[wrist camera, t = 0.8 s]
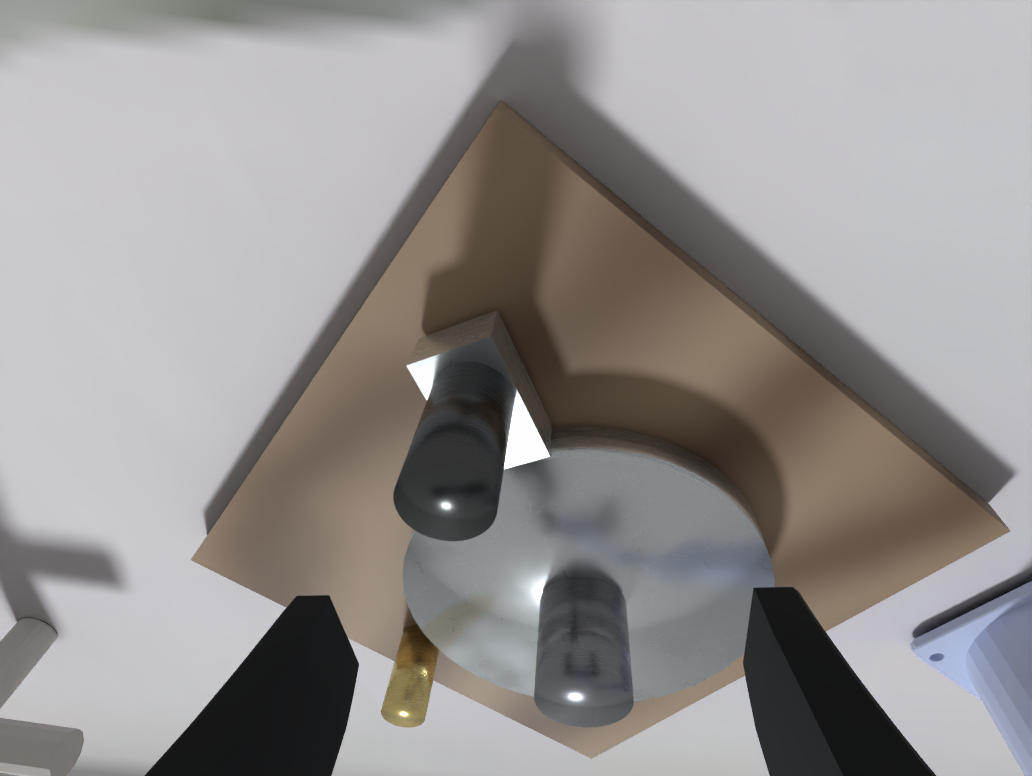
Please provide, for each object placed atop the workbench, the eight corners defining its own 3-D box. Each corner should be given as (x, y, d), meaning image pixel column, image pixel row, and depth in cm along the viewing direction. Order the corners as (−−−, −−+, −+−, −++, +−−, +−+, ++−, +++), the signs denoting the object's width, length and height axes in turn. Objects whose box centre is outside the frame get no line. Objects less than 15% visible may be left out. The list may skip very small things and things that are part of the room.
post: (644, 604, 20) (655, 700, 17) (587, 643, 21) (588, 738, 18) (577, 563, 19) (577, 657, 16) (522, 606, 20) (514, 700, 18)
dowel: (449, 636, 25) (433, 715, 22) (427, 654, 25) (410, 732, 23) (415, 619, 24) (395, 697, 22) (395, 637, 25) (373, 715, 22)
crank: (792, 637, 23) (847, 803, 18) (496, 687, 26) (478, 837, 21) (675, 246, 15) (717, 359, 10) (278, 388, 18) (179, 520, 14)
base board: (988, 504, 20) (1010, 531, 19) (591, 732, 30) (591, 758, 29) (501, 100, 15) (495, 107, 14) (206, 536, 24) (190, 560, 23)
